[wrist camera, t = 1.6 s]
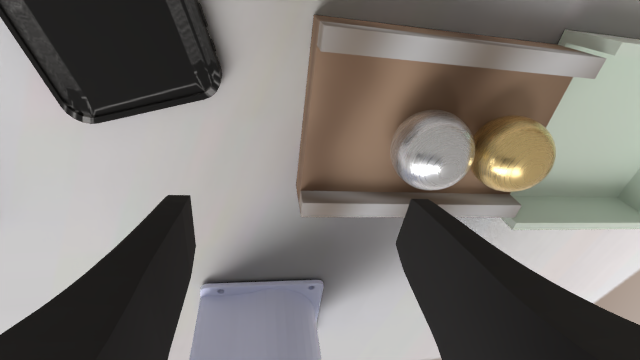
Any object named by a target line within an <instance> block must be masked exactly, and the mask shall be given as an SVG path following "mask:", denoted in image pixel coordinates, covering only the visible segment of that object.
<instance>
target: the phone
mask: <svg viewBox="0 0 640 360" xmlns="http://www.w3.org/2000/svg"><path fill="white" fill-rule="evenodd" d="M0 17H1V18H2V20H3V21H4V23H5V24H6V26H7V27H8V29H9V30H10V32H11V33H12V35H13V36H14V38H15V39H16V41H17V42H18V44H19V45H20V47H21V48H22V50H23V51H24V53H25V54H26V56H27V57H28V58H29V60H30V61H31V63H32V64H33V66H34V67H35V69H36V70H37V72H38V73H39V75H40V76H41V78H42V79H43V81H44V82H45V84H46V85H47V87H48V88H49V90H50V91H51V93H52V94H53V96H54V97H55V99H56V100H57V101H58V103H59V104H60V106H61V107H62V108H63V110H64V111H65V112H66V113H67V114H68V115H70V116H71V117H73V118H74V119H76V120H78V121H81V122H84V123H89V124H95V123H102V122H106V121H111V120H115V119H119V118H124V117H128V116H133V115H137V114H142V113H146V112H150V111H155V110H159V109H164V108H168V107H173V106H177V105H181V104H186V103H190V102H195V101H199V100H204V99H207V98H209V97H211V96H212V95H214V94H215V93H216V92H217V90H218V88H219V86H220V83H221V77H222V73H221V68H220V65H219V62H218V59H217V56H216V53H215V51H216V50H215V47H214V44H213V41H212V39H210V36H209V33H208V30H207V23H206V20H205V17H204V14H203V11H202V8H201V5H200V3H198V1H197V0H0Z"/></svg>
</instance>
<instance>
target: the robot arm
mask: <svg viewBox="0 0 640 360" xmlns="http://www.w3.org/2000/svg"><path fill="white" fill-rule="evenodd" d="M396 246H397V250H398V253H399V257H400V260H401V263H402V267H403V270H404V272H405V275H406V277H407V279H408V281H409V284H410V286H411V288H412V290H413V293H414V295H415V297H416V299H417V301H418V303H419V306H420V308H421V310H422V312H423V314H424V316H425V319H426V321H427V323H428V325H429V327H430V330H431V332H432V334H433V337H434V339H435V341H436V344H437V346H438V349H439V352H440V355H441V358H442V360H640V325H638V324H636V323H634V322H631V321H629V320H627V319H624V318H622V317H620V316H618V315H616V314H614V313H611V312H609V311H607V310H605V309H603V308H601V307H599V306H597V305H595V304H593V303H591V302H589V301H587V300H585V299H583V298H581V297H579V296H577V295H575V294H573V293H571V292H569V291H567V290H565V289H564V288H562V287H560V286H558V285H556V284H554V283H553V282H551V281H549V280H547V279H546V278H544V277H542V276H541V275H539V274H537V273H535V272H534V271H532V270H530V269H529V268H527V267H525V266H524V265H522V264H521V263H519V262H517V261H516V260H514V259H513V258H511V257H510V256H508V255H507V254H505V253H504V252H502V251H501V250H499V249H498V248H496V247H495V246H493V245H492V244H491V243H489V242H488V241H486V240H485V239H483V238H482V237H481V236H479V235H478V234H477V233H475V232H474V231H472V230H471V229H470V228H468V227H467V226H466V225H464V224H463V223H461V222H460V221H459V220H457V219H456V218H455V217H453V216H452V215H451V214H449V213H448V212H446V211H445V210H444V209H442V208H441V207H439V206H438V205H437V204H435V203H434V202H432V201H430V200H429V199H411V200H410V203H409V206H408V209H407V212H406V215H405V218H404V221H403V224H402V227H401V229H400V232H399V235H398V238H397V241H396ZM195 248H196V244H195V235H194V226H193V216H192V207H191V198H190V195H168V196H167V197H165V198H164V199H163V200H162V201H161V202H160V203H159V204H158V205H157V207H156V208H155V209H154V210H153V211H152V212H151V213H150V214H149V215H148V216H147V217H146V218H145V219H144V220H143V221H142V222H141V223H140V224H139V225H138V226H137V227H136V228H135V229H134V230H133V231H132V232H131V233H130V234H129V235H128V236H127V237H126V238H125V239H124V240H122V241H121V242H120V243H119V244H118V245H117V246H116V247H115V248H114V249H113V250H112V251H111V252H109V253H108V254H107V255H106V256H105V257H104V258H103V259H101V260H100V261H99V262H98V263H97V264H96V265H95V266H93V267H92V268H91V269H90V270H89V271H88V272H86V273H85V274H84V275H83V276H82V277H80V278H79V279H78V280H77V281H75V282H74V283H73V284H72V285H70V286H69V287H68V288H67V289H65V290H64V291H63V292H61V293H60V294H59V295H57V296H56V297H55V298H53V299H52V300H51V301H49V302H48V303H46V304H45V305H44V306H42V307H41V308H40V309H38V310H37V311H35V312H34V313H32V314H31V315H29V316H28V317H26V318H25V319H23V320H22V321H20V322H19V323H17V324H16V325H14V326H13V327H11V328H10V329H8V330H7V331H5V332H4V333H2V334H1V335H0V360H168V356H169V352H170V348H171V344H172V341H173V337H174V334H175V331H176V327H177V324H178V320H179V317H180V313H181V310H182V306H183V303H184V300H185V296H186V293H187V289H188V285H189V282H190V278H191V273H192V267H193V261H194V254H195ZM323 287H324V286H323V282H322V281H321V280H298V281H270V282H242V283H214V284H204V285H202V286H201V290H200V295H201V298H200V304H199V309H198V315H197V320H196V326H195V331H194V337H193V342H192V348H191V353H190V359H189V360H322V359H321V352H320V346H319V339H318V332H317V326H316V322H317V317H318V312H319V307H320V302H321V297H322V292H323Z"/></svg>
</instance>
